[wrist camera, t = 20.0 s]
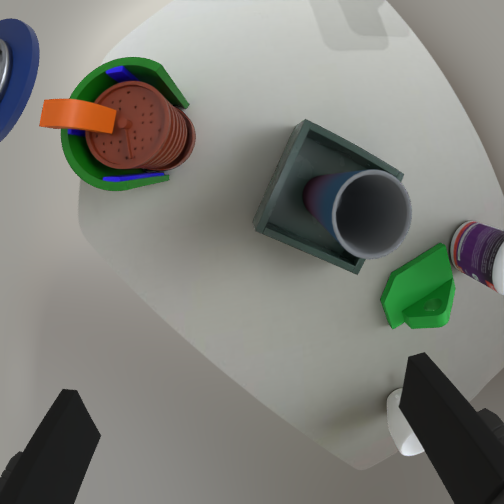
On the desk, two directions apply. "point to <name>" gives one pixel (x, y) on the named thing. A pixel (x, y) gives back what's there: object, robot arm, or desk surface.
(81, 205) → the desk surface
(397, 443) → the mug
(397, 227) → the cup
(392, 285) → the bracket
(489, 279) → the pill bottle
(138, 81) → the coaster caddy
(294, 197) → the holder
